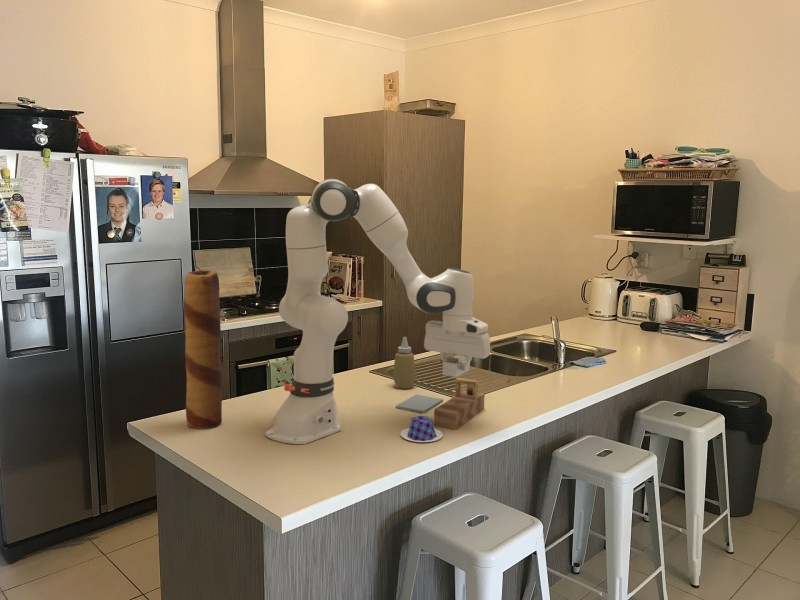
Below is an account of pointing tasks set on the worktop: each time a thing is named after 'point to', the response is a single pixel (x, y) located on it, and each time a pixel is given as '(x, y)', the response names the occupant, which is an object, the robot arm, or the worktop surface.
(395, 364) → the squeeze bottle
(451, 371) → the lever cap
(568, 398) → the worktop surface
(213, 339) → the wafer roll
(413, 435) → the pudding
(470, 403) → the brown stand
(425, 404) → the rubber mat
